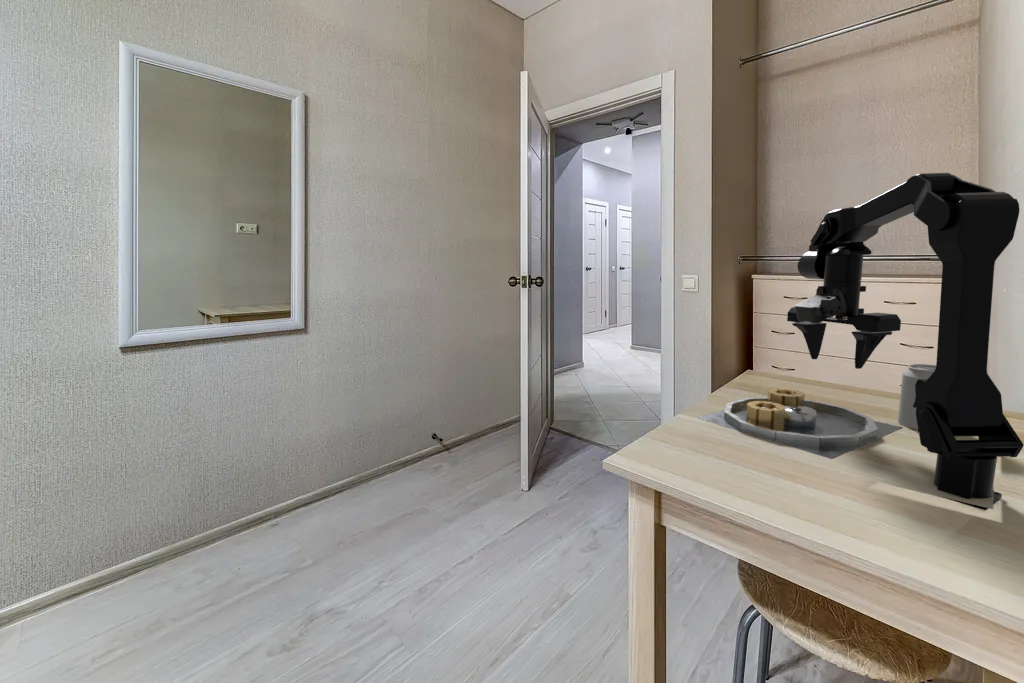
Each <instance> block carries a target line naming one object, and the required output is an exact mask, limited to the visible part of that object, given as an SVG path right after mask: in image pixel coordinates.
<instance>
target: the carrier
mask: <svg viewBox="0 0 1024 683" xmlns="http://www.w3.org/2000/svg"><path fill="white" fill-rule="evenodd" d="M785 395H789V394H785ZM767 397H768V396H759V397H758V396H756V397H744V398H741V399H736V400H734V401H730V402H727V403H726V406H725V409H722V410H720V411H716V412H712V413H709V414H708V413H707V414H706V415H705V414H704V415H702V416H698V417H696V418H697V419H699V420H702V421H706V422H709V423H711V424H716V425H718V426H723V427H724V428H725V427H726V428H729V429H733V430H735V431H738V432H741V433H745V434H748V435H751V436H755V437H758V438H762V439H765V440H767V441H768V440H769V441H770V442H771V441H772V442H774V443H778V444H781V445H785V446H788V447H792V448H794V449H798V450H801V451H804V452H807V453H811V454H813V455H814V454H815V455H818V456H821V457H824V458H827V459H831V460H833V459H835V458H838V457H839V456H842V455H844V454H847V453H849V452H850V451H853V450H855V449H857V448H860V447H863V446H864V445H867V444H869V443H872V442H873V441H876V440H878V439H881V438H883V437H885V436H887V435H889V434H892V433H894V432H897V431H898V430H900V429H903V428H904V426H899V425H895V424H894V425H893V424H890V423H885V422H880V421H876V420H873V418H872V417H871V416H868V415H865V414H863V413H860V412H858V411H856V410H853V409H852V408H848V407H845V406H841V405H835V404H831V403H828V402H822V401H817V400H812V399H805V398H804V406H805V407H809V408H812V409H814V410H815V411H816V424H815V426H814V427H811V428H795V427H789V426H785V425H784V431H776V430H773V429H769V428H766V427H762V426H759V425H755V424H751V423H748V422H746V419H747V404H748V402H753V401H760V402H761V401H767ZM761 408H768V407H761ZM768 409H770V408H768Z"/></svg>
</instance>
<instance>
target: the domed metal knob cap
mask: <svg viewBox="0 0 1024 683" xmlns="http://www.w3.org/2000/svg"><path fill="white" fill-rule="evenodd" d="M784 406H785V421H784V425H785V426H789V427H795V428H811V427H814V426H815V424H816V411H815V410H814V409H812V408H809V407H805V406H799V405H784Z"/></svg>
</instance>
